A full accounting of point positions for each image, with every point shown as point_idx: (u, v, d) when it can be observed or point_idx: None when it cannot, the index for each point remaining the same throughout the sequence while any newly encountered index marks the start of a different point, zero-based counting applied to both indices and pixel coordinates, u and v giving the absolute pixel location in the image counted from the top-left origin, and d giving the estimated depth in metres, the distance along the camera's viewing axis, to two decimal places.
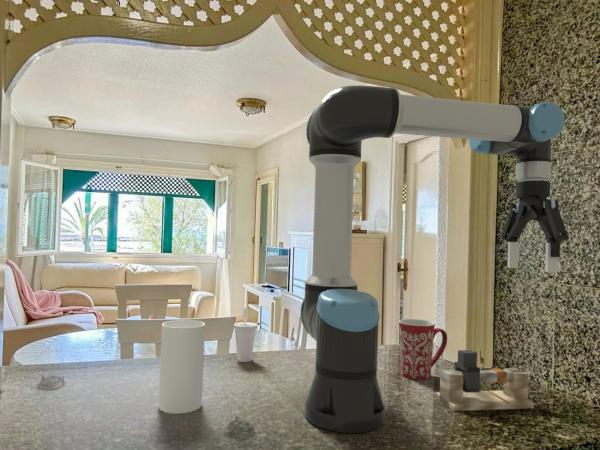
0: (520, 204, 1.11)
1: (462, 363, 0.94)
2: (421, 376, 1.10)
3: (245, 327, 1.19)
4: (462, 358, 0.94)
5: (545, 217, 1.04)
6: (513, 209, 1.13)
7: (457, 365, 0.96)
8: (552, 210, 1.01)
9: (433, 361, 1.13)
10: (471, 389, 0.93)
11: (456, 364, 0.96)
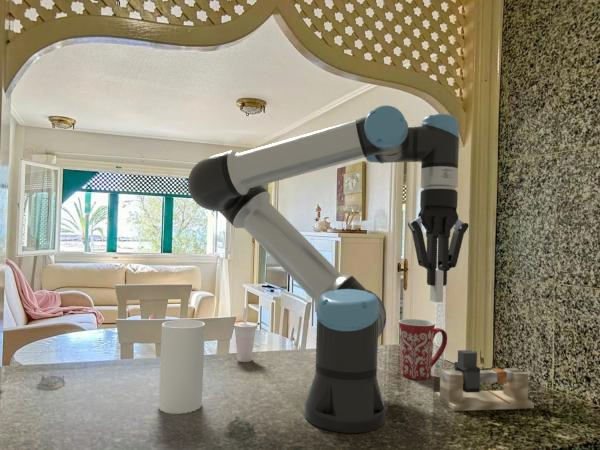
0: None
1: (462, 363, 0.94)
2: (421, 376, 1.10)
3: (245, 327, 1.19)
4: (462, 358, 0.94)
5: (430, 236, 0.94)
6: None
7: (457, 365, 0.96)
8: (413, 234, 0.94)
9: (433, 361, 1.13)
10: (471, 389, 0.93)
11: (456, 364, 0.96)
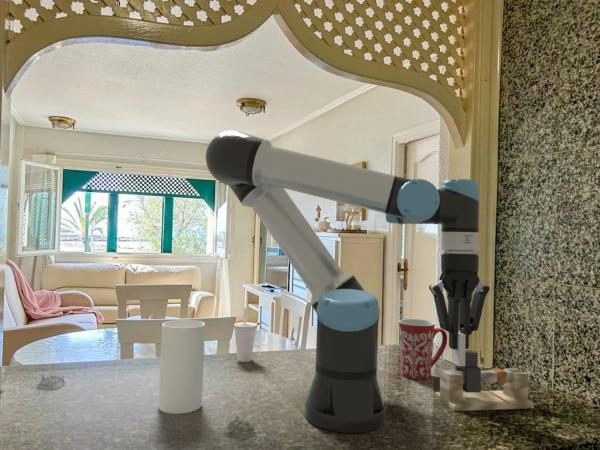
0: None
1: None
2: (421, 376, 1.10)
3: (245, 327, 1.19)
4: None
5: (451, 300, 0.94)
6: None
7: None
8: (435, 298, 0.95)
9: (433, 361, 1.13)
10: (472, 389, 0.93)
11: None
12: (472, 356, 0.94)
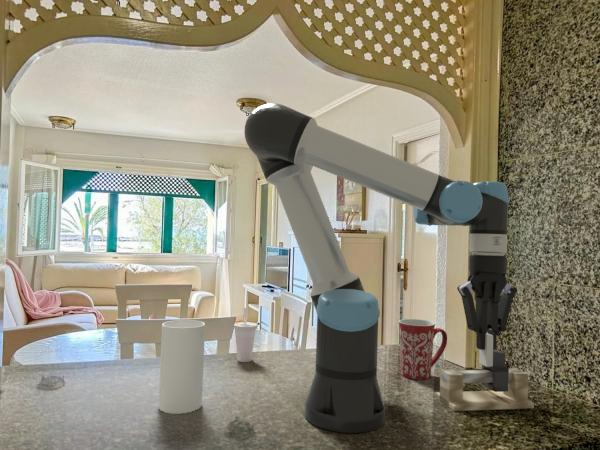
0: None
1: None
2: (421, 376, 1.10)
3: (245, 327, 1.19)
4: None
5: (479, 301, 0.96)
6: None
7: None
8: (463, 298, 0.96)
9: (433, 361, 1.13)
10: (500, 388, 0.94)
11: None
12: (500, 356, 0.95)
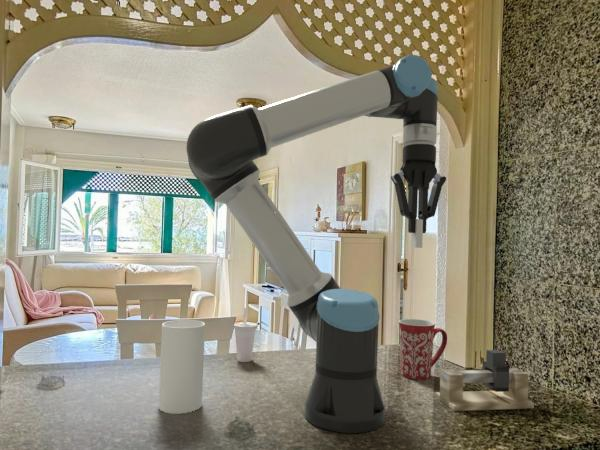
0: None
1: (491, 363, 0.95)
2: (421, 376, 1.10)
3: (245, 327, 1.19)
4: (491, 358, 0.95)
5: (411, 188, 1.03)
6: None
7: (486, 365, 0.97)
8: (396, 186, 1.03)
9: (433, 361, 1.13)
10: (501, 388, 0.94)
11: (485, 364, 0.98)
12: (500, 356, 0.95)
